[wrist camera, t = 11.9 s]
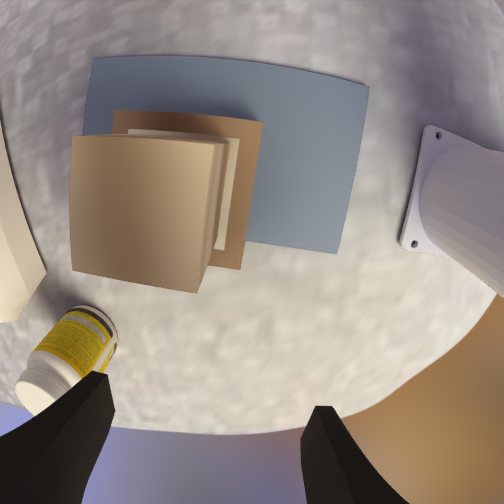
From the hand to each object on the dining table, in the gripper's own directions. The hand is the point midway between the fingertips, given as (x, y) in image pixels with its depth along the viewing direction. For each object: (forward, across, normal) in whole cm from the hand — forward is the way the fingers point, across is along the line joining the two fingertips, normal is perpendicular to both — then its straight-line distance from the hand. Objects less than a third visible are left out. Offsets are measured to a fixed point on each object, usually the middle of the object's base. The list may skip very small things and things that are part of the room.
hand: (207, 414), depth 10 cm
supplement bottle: (+11, +10, +6) cm, 16 cm away
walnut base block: (+10, +3, -6) cm, 12 cm away
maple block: (+7, +3, -6) cm, 10 cm away
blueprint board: (+10, +2, -8) cm, 13 cm away
